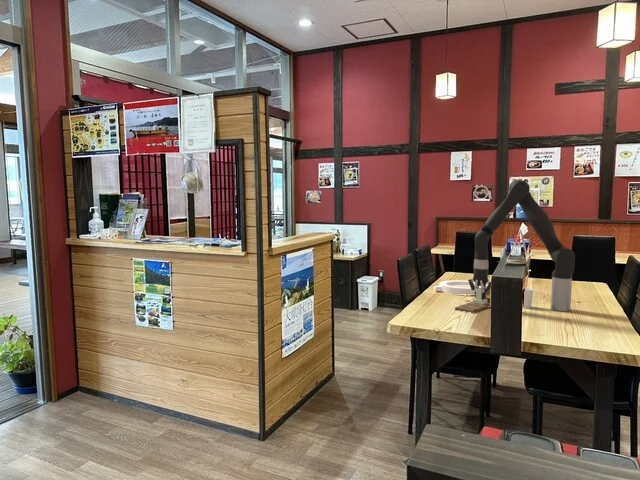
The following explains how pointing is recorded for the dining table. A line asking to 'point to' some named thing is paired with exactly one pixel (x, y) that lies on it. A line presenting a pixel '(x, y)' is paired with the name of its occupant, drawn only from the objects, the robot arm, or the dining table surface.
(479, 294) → the block
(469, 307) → the rail
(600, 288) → the dining table surface
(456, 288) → the ring with crossbar
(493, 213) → the robot arm
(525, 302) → the white cup
